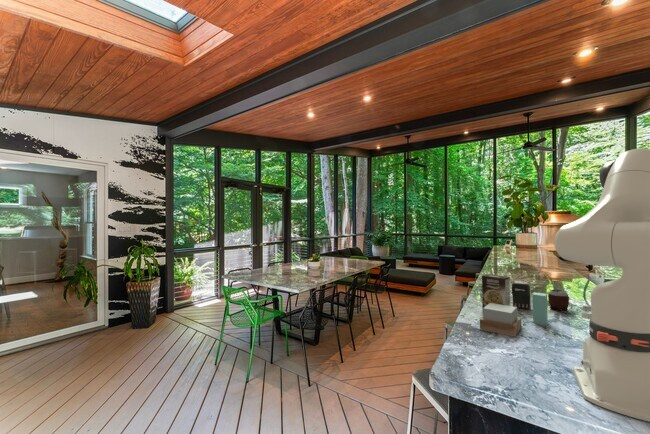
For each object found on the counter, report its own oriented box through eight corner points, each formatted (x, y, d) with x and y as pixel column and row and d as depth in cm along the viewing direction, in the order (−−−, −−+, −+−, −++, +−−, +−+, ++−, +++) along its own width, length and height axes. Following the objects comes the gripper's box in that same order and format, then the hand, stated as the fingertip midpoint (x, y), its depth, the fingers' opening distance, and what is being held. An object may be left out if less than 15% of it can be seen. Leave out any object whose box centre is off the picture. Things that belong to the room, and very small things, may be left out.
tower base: (514, 337, 101) (514, 326, 101) (479, 330, 109) (479, 319, 109) (521, 328, 109) (521, 317, 109) (488, 322, 117) (488, 312, 117)
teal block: (546, 325, 110) (545, 295, 111) (533, 323, 113) (532, 294, 113) (547, 322, 113) (546, 293, 113) (535, 320, 116) (534, 292, 116)
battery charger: (511, 307, 133) (510, 282, 133) (513, 305, 136) (512, 280, 136) (530, 310, 128) (529, 284, 128) (531, 308, 131) (530, 282, 131)
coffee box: (481, 313, 126) (480, 275, 126) (487, 310, 130) (486, 273, 130) (506, 318, 119) (504, 278, 119) (511, 314, 123) (510, 276, 124)
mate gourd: (570, 312, 124) (569, 276, 124) (547, 310, 128) (546, 275, 129) (567, 308, 131) (566, 273, 131) (545, 305, 135) (544, 272, 135)
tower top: (511, 324, 103) (511, 312, 103) (483, 319, 109) (483, 308, 109) (517, 317, 109) (516, 307, 110) (490, 313, 116) (489, 302, 116)
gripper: (635, 302, 103) (583, 296, 113) (641, 317, 88) (580, 309, 98) (636, 320, 103) (583, 312, 113) (642, 339, 88) (581, 328, 98)
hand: (582, 311), depth 105 cm, fingers open, 8 cm apart
